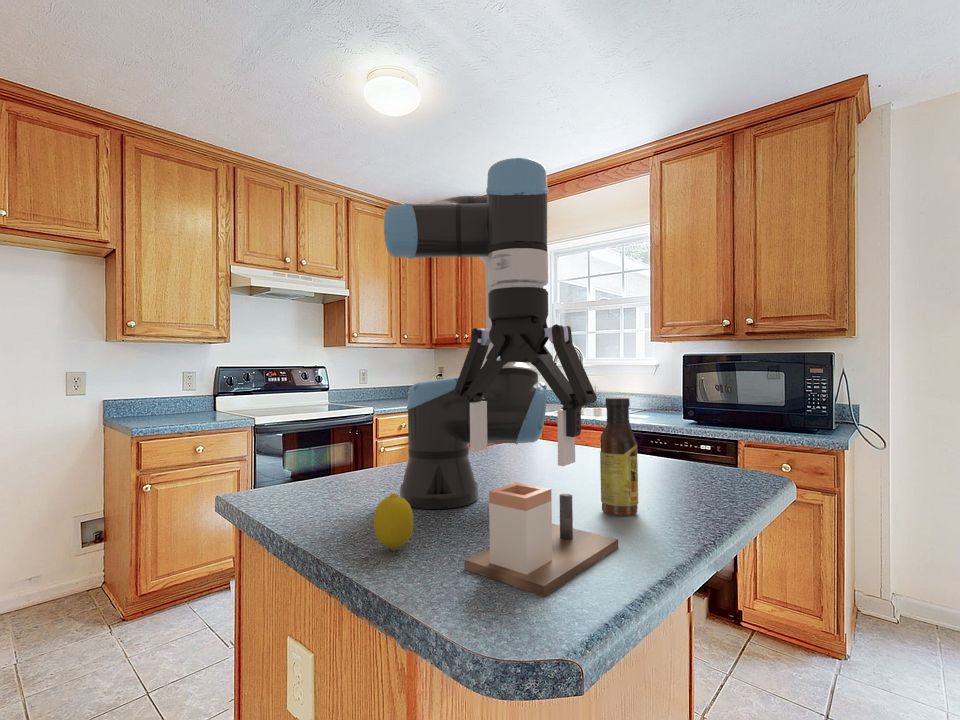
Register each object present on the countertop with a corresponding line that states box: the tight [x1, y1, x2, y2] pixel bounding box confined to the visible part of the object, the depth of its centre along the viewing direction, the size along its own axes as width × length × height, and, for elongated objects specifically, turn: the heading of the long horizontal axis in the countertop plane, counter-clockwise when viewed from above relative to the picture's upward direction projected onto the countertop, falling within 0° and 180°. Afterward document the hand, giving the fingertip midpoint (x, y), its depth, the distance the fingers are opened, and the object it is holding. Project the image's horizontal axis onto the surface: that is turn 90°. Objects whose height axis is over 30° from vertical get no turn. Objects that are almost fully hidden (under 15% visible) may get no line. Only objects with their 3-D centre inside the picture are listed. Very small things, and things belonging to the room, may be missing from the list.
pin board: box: [464, 493, 619, 597], centre depth 67 cm, size 12×19×7 cm, turn 140°
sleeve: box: [488, 482, 553, 575], centre depth 63 cm, size 6×6×9 cm
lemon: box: [373, 493, 415, 552], centre depth 71 cm, size 6×6×8 cm
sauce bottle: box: [599, 396, 639, 517], centre depth 87 cm, size 7×6×20 cm
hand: (519, 456), depth 64 cm, fingers open, 13 cm apart
